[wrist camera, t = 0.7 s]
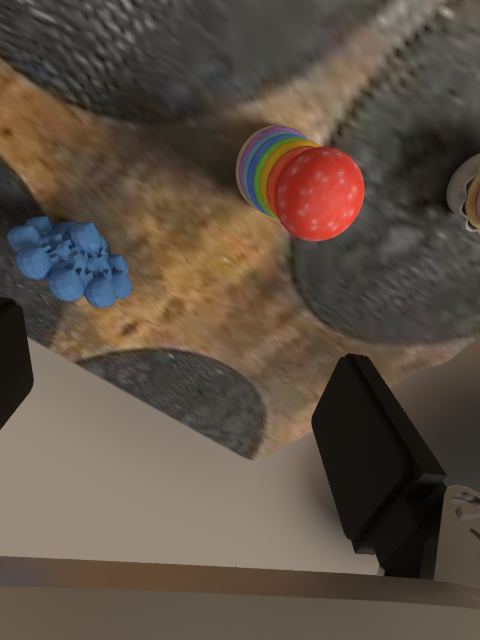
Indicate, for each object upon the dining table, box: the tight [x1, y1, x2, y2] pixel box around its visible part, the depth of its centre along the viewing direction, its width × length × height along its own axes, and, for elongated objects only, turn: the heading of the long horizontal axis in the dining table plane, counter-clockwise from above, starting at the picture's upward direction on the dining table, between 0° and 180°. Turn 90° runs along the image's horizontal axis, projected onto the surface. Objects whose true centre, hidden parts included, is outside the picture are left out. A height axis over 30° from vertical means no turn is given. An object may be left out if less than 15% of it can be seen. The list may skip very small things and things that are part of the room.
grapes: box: [7, 216, 132, 308], centre depth 29 cm, size 12×7×12 cm, turn 56°
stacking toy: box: [236, 125, 364, 241], centre depth 23 cm, size 8×8×19 cm
